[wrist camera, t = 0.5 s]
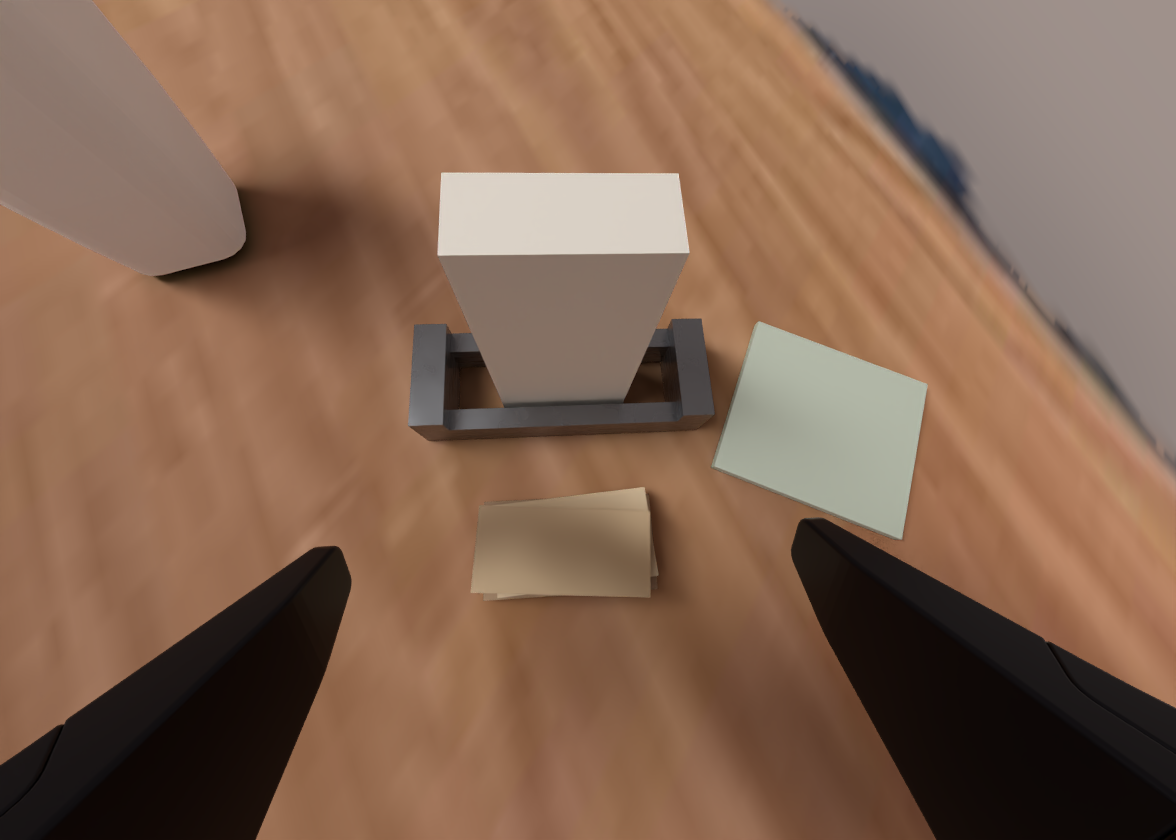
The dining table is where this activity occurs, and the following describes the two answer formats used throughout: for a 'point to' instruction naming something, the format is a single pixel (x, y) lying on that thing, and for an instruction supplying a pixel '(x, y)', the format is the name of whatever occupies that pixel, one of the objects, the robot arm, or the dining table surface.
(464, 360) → the slot rack
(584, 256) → the tall block
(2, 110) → the cup
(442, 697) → the dining table surface
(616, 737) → the dining table surface
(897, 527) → the sage mat
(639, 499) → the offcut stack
